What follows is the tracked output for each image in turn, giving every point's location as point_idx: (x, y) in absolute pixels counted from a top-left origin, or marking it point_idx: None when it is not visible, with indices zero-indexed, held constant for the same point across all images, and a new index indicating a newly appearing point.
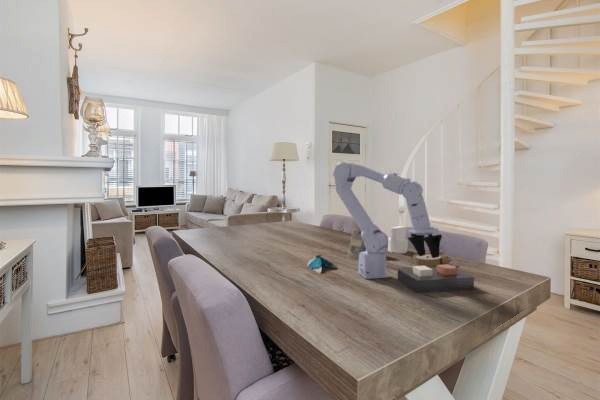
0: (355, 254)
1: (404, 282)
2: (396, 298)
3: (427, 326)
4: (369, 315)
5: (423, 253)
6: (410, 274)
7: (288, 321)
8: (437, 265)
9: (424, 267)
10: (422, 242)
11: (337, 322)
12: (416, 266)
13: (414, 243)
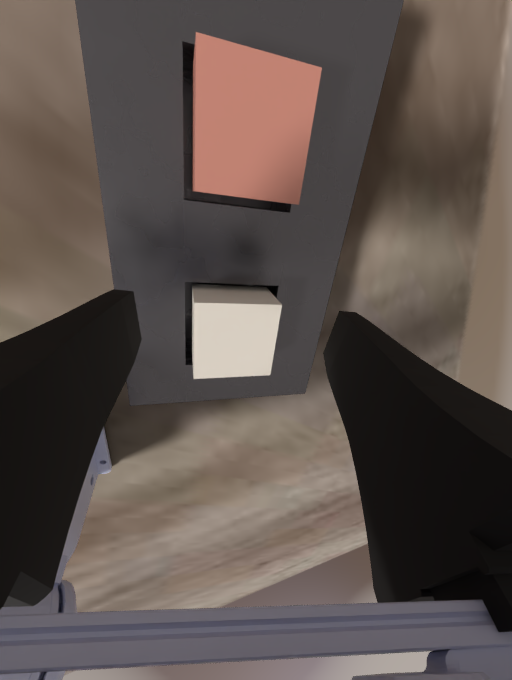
0: None
1: None
2: (295, 429)
3: None
4: (341, 490)
5: (128, 315)
6: (226, 385)
7: (306, 568)
8: (205, 192)
9: (232, 327)
10: (45, 388)
11: (338, 526)
12: (201, 361)
13: (81, 480)
